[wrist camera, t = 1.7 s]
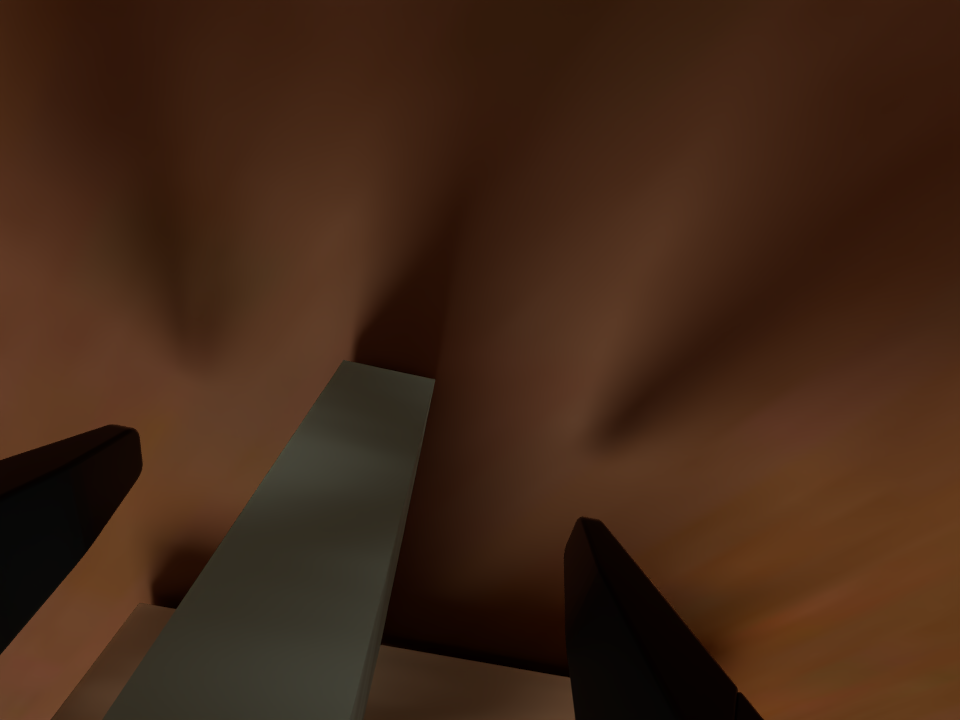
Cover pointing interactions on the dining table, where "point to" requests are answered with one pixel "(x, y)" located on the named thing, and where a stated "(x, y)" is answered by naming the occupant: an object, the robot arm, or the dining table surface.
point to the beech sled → (310, 594)
